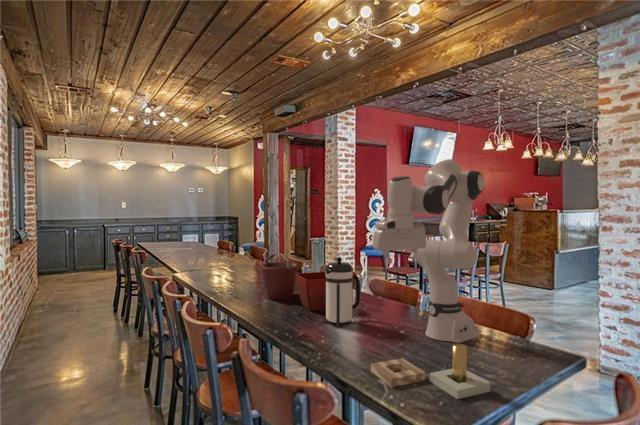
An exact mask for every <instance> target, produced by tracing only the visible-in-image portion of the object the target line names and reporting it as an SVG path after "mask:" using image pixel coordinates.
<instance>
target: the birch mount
mask: <svg viewBox="0 0 640 425" xmlns="http://www.w3.org/2000/svg"><path fill="white" fill-rule="evenodd" d="M370 372H371V373H373V374H374V375H375V376H376V377H378V378H379V379H380V380H381V381H382V382H384V383H385V384H386V383H387V384H386V385H388V386H389V387H390V388H394V387H400V386H404V385H405V386H406V385H410V384H414V383H420V382H424V381H426V372H425V371H424V370H422V369H421V368H419V367H417V366H415V365H414V364H412V363H410V362H409V361H407V359H404V358H403V357H401V358H395V359H390V360H385V361H379V362H372V363H370Z"/></svg>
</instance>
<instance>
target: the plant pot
mask: <svg viewBox="0 0 640 425" xmlns="http://www.w3.org/2000/svg"><path fill="white" fill-rule="evenodd" d="M295 276H296V283H295V284H296V287H297V291H298V295H299V298H300V302H301V304H302V306H303V308H305V309H307V310H308V311H310V312H313V311H314V312H315V311H325V282H326V271H315V272H297V274H295Z"/></svg>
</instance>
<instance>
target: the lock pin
mask: <svg viewBox="0 0 640 425" xmlns="http://www.w3.org/2000/svg"><path fill="white" fill-rule="evenodd" d="M451 350H452V351H451V353H452V356H451V358H452V362H451V363H452V364H451V369H452V380H454V381H455V382H457V383H463V382H467V371H468V370H467V368H468V366H467V360H468V359H467V358H468V357H467V356H468V355H467V354H468V347H467V345H466V344H463V343H453V344H452V349H451Z"/></svg>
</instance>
